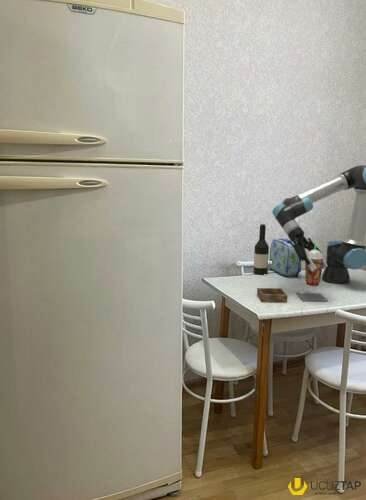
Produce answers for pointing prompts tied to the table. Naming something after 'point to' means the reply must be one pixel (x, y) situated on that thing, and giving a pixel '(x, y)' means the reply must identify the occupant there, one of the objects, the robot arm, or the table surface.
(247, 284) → the table surface
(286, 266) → the lunch box
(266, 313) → the table surface
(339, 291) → the table surface
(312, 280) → the smoothie
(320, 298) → the coaster
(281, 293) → the tray
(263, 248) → the wine bottle
